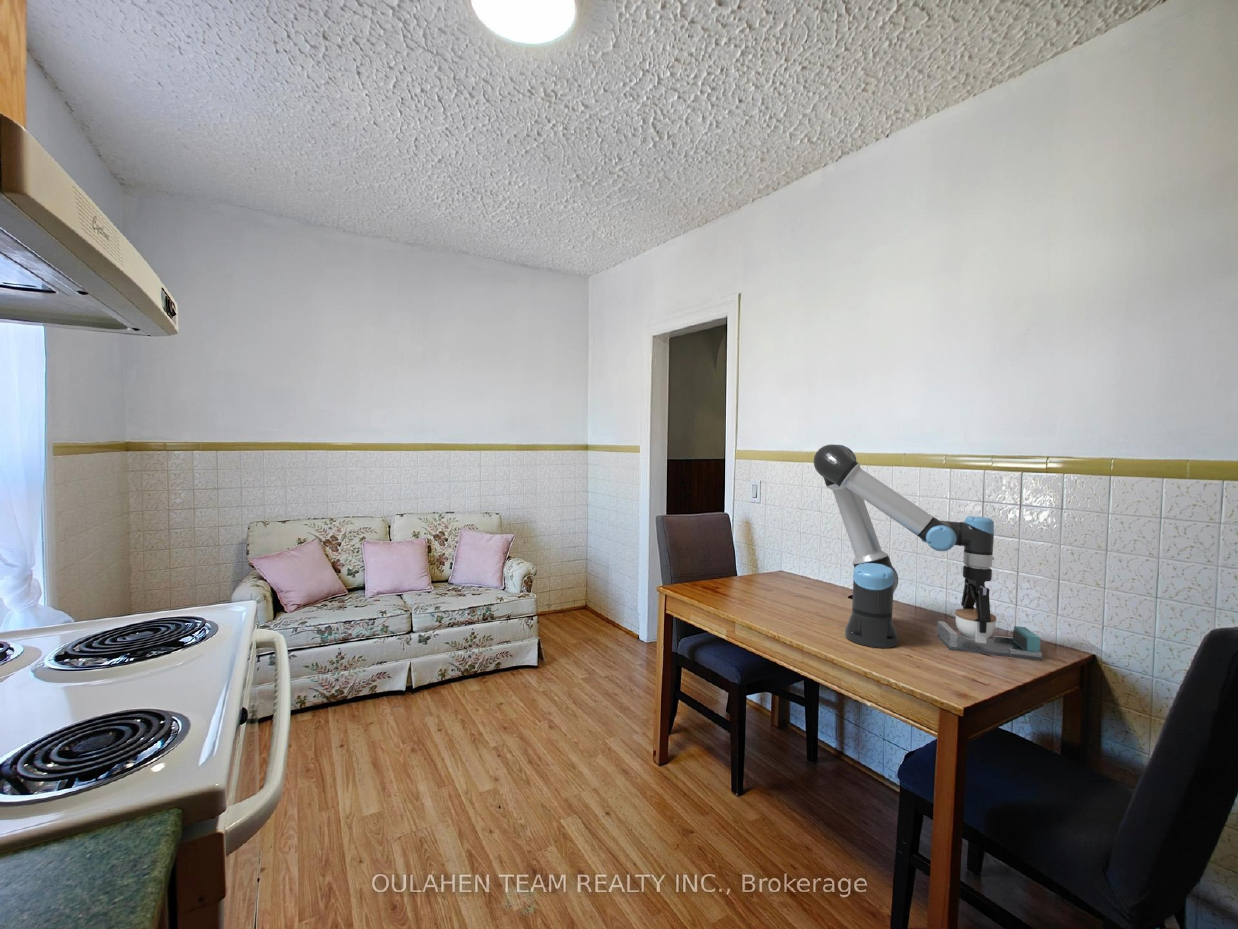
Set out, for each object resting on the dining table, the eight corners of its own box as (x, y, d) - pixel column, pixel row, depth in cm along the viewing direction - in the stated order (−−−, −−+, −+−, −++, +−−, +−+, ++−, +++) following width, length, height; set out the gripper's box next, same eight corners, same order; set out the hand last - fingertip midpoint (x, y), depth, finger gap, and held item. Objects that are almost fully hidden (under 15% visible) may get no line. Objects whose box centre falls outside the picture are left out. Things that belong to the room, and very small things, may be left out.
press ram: (1025, 652, 161) (1026, 636, 161) (1011, 641, 171) (1012, 625, 171) (1039, 654, 160) (1040, 637, 160) (1024, 643, 170) (1025, 627, 170)
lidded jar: (994, 647, 162) (995, 616, 162) (952, 638, 168) (953, 608, 168) (995, 637, 171) (997, 608, 170) (956, 630, 177) (957, 601, 177)
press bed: (949, 649, 166) (950, 633, 166) (937, 636, 178) (937, 621, 178) (1041, 660, 159) (1042, 643, 159) (1022, 645, 172) (1022, 629, 171)
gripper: (1006, 575, 157) (1002, 651, 157) (977, 560, 179) (974, 626, 180) (977, 573, 159) (973, 647, 159) (952, 558, 181) (949, 623, 182)
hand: (974, 636), depth 170 cm, fingers closed on lidded jar, 11 cm apart
